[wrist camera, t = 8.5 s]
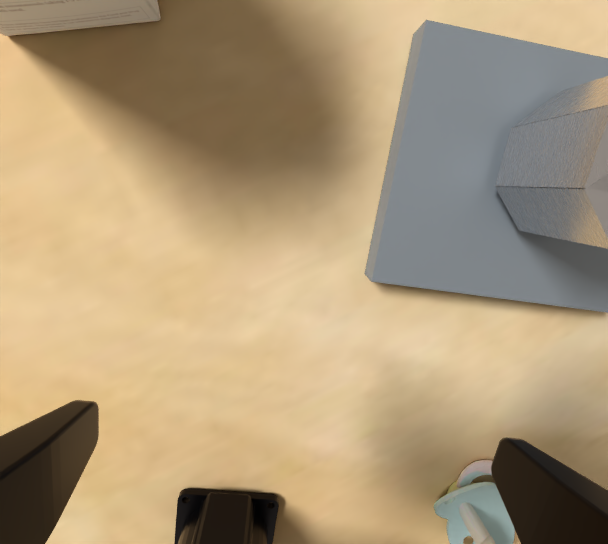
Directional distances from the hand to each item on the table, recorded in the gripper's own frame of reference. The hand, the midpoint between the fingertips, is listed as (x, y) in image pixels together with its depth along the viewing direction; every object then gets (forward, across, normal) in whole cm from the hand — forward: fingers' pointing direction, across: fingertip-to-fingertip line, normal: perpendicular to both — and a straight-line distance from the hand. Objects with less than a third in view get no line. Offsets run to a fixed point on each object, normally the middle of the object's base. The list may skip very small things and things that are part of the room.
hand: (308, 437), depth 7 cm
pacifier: (+12, -15, +14) cm, 24 cm away
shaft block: (+12, -11, -7) cm, 18 cm away
